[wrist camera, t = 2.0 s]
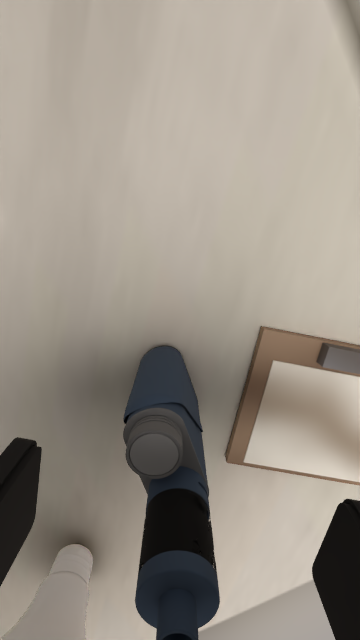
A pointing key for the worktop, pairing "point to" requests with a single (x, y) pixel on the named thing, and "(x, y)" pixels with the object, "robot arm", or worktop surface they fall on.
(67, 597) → the lightbulb
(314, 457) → the clipboard
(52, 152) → the worktop surface
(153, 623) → the vaping device
